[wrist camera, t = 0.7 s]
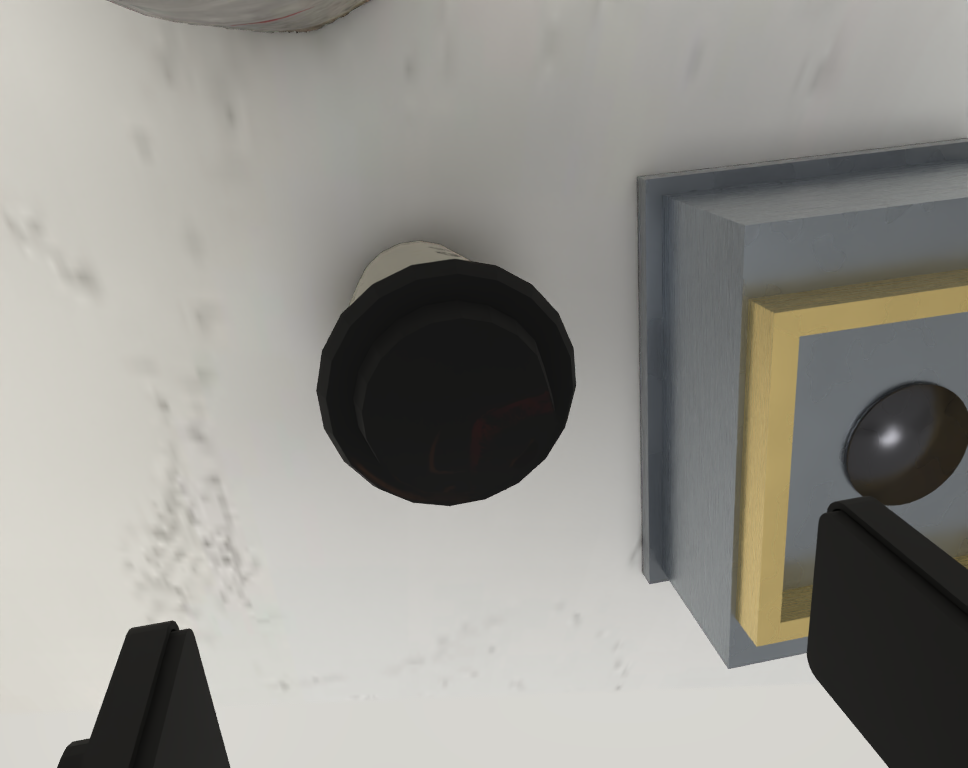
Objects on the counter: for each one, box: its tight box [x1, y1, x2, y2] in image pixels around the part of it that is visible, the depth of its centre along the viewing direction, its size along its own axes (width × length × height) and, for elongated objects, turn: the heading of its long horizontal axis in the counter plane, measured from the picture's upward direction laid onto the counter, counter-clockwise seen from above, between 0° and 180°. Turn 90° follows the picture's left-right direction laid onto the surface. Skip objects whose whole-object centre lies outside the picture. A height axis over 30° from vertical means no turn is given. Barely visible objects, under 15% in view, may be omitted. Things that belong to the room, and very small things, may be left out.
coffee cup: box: [316, 241, 576, 506], centre depth 24 cm, size 7×7×10 cm
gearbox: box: [637, 138, 968, 669], centre depth 29 cm, size 17×15×8 cm
